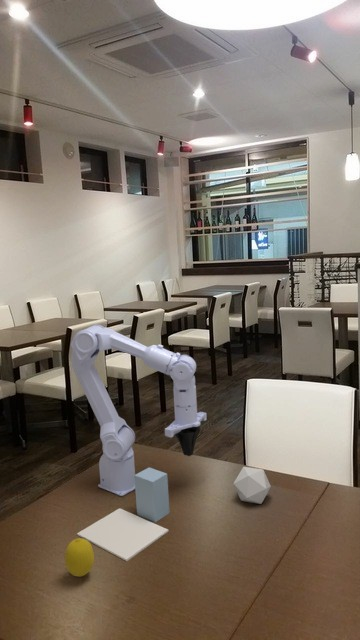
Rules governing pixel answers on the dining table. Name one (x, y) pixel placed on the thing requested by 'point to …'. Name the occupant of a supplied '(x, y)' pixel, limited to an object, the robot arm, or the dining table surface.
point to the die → (252, 485)
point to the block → (152, 494)
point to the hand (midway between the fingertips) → (188, 454)
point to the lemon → (79, 557)
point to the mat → (123, 533)
